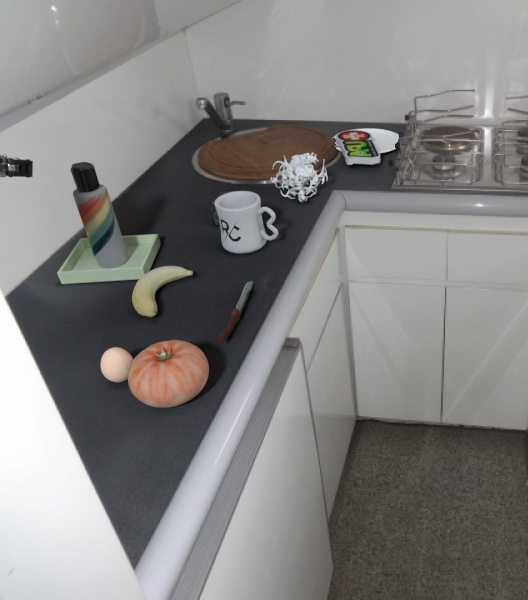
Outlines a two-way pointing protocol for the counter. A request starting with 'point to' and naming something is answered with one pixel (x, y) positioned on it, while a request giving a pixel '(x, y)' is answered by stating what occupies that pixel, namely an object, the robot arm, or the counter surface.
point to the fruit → (154, 287)
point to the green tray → (86, 269)
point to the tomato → (168, 373)
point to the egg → (116, 364)
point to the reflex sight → (216, 211)
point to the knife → (236, 313)
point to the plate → (379, 139)
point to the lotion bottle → (98, 217)
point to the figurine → (299, 175)
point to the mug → (243, 222)
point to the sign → (358, 147)
